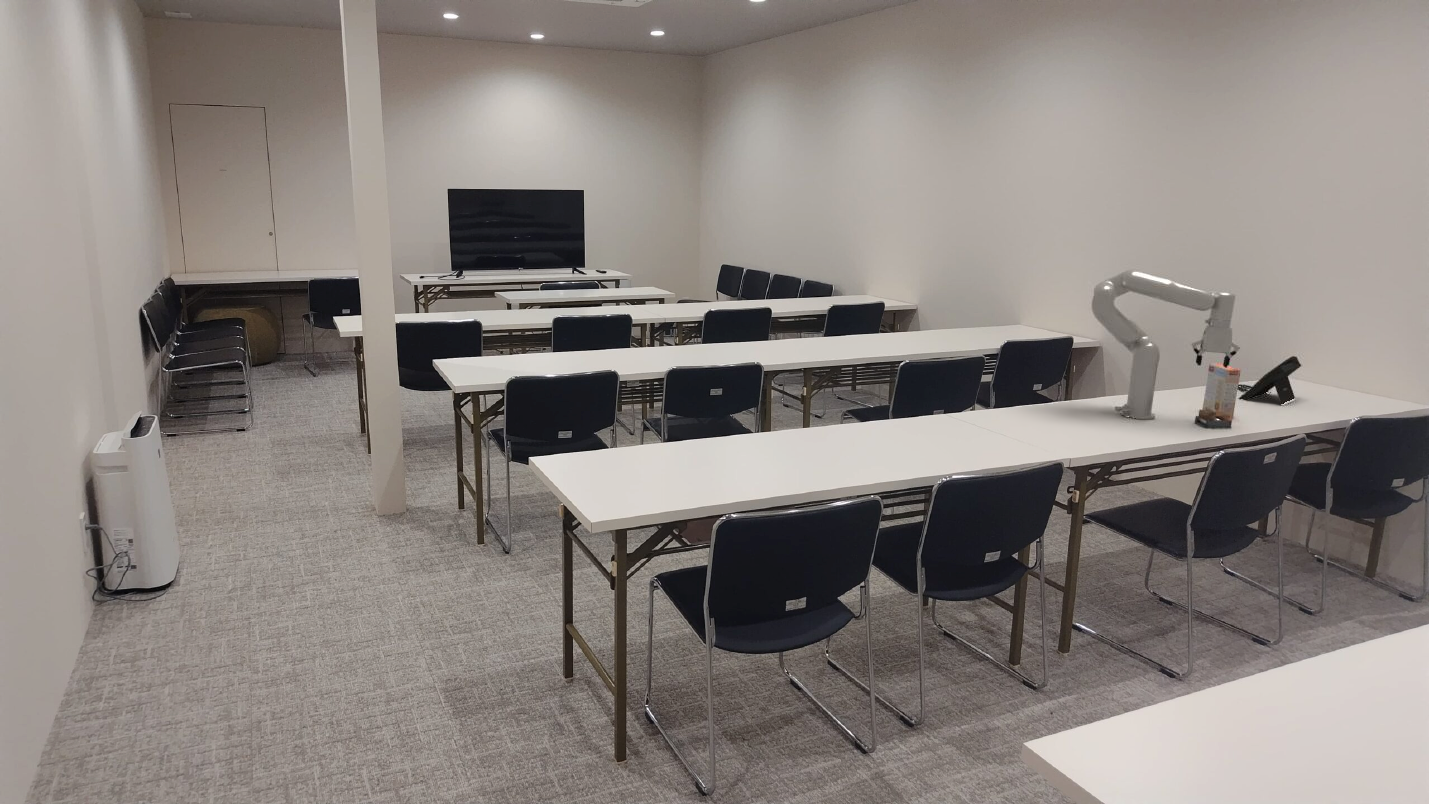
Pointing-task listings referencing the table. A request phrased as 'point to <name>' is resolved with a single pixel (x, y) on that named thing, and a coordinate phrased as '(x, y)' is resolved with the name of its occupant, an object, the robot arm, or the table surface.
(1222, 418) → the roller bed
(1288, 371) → the office phone
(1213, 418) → the slab
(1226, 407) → the cracker box
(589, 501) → the table surface
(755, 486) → the table surface
